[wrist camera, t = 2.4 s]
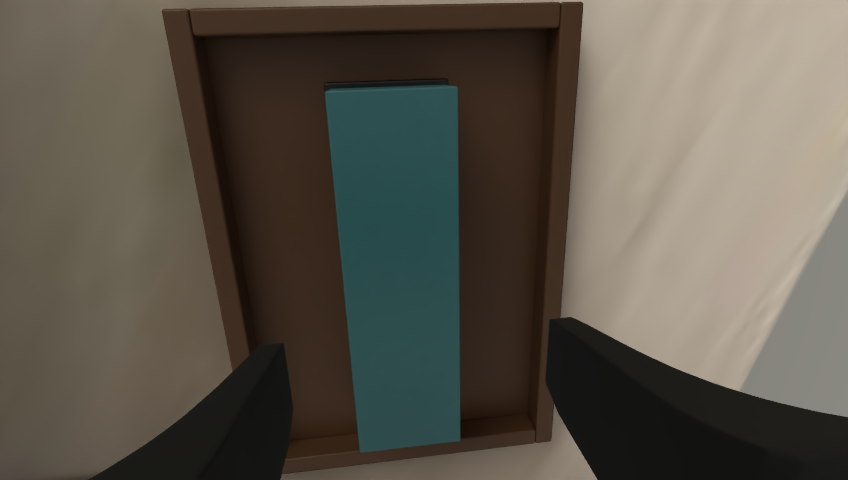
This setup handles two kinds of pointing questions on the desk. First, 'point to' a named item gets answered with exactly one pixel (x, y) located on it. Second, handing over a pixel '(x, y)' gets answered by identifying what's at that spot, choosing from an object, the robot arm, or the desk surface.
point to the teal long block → (399, 255)
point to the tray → (316, 211)
